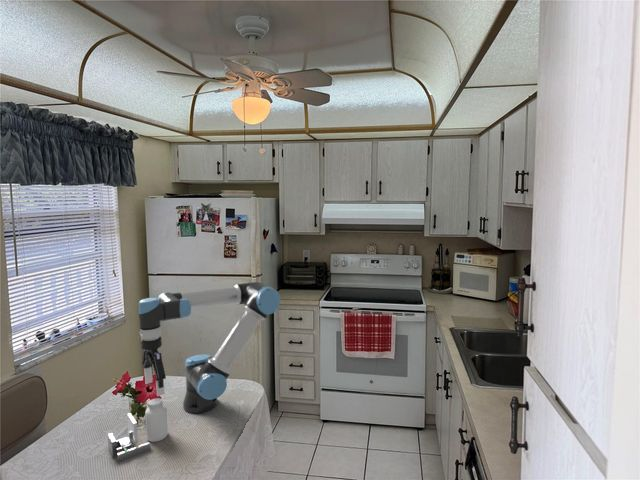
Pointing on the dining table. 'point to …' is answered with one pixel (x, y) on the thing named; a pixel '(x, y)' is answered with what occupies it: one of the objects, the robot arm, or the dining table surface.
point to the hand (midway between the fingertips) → (154, 388)
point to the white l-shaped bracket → (130, 433)
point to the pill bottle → (156, 420)
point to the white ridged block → (120, 452)
